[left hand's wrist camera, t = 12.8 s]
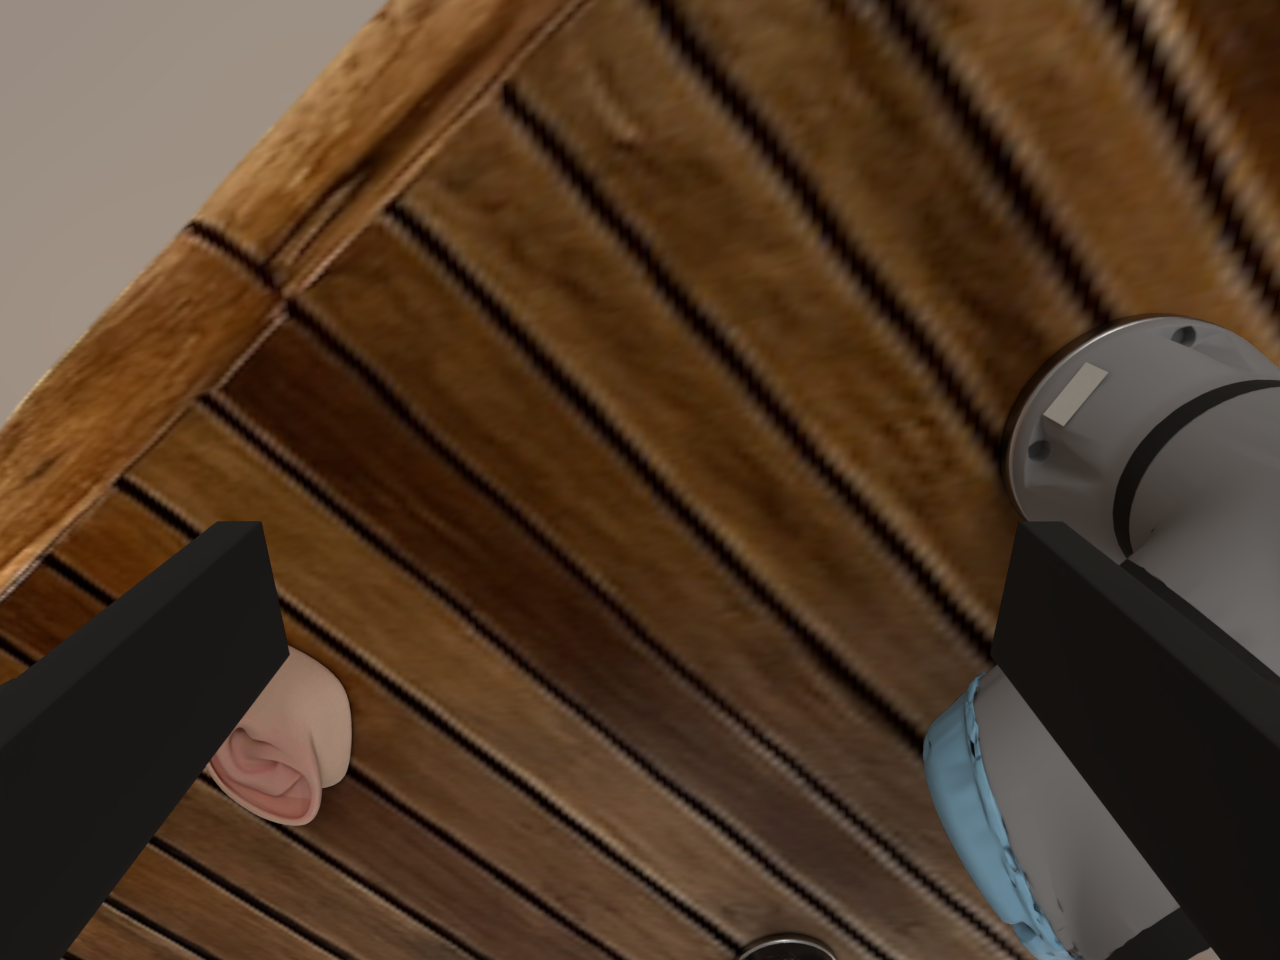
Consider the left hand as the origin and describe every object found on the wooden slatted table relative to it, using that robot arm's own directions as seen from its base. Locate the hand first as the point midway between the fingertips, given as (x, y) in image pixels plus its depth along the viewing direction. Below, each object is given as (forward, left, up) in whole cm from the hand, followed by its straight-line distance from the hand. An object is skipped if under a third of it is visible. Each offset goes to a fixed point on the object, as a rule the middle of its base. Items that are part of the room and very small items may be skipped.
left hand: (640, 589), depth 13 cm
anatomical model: (-2, +39, -32) cm, 50 cm away
